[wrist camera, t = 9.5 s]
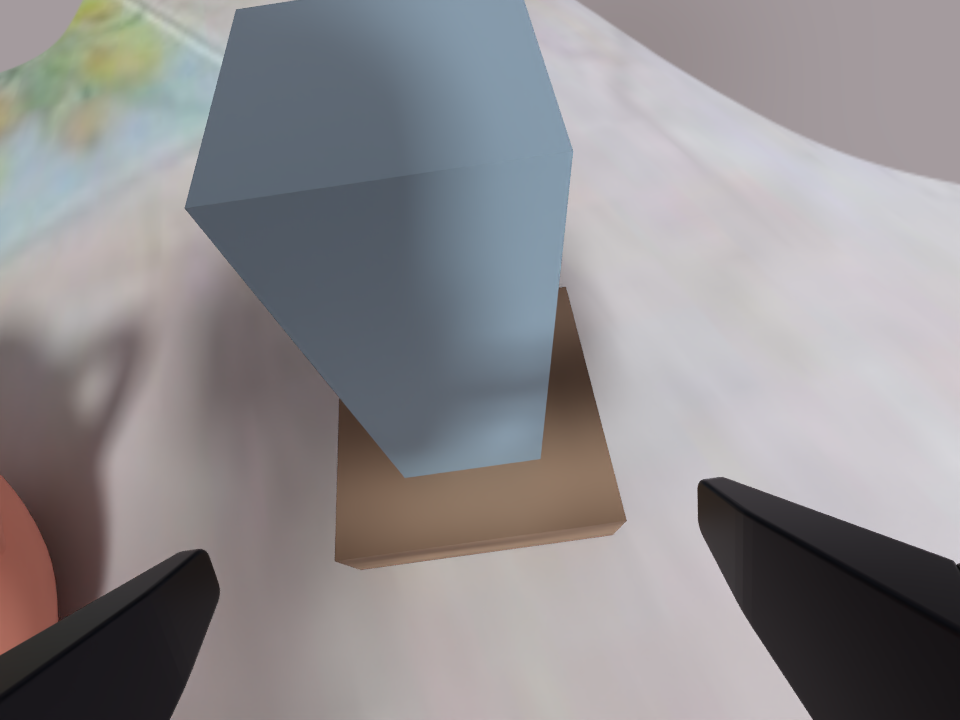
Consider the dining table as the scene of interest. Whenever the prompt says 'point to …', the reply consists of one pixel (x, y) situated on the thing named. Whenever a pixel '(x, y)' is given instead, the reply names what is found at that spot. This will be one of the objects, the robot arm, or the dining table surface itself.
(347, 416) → the walnut base
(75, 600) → the dining table surface
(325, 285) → the blue block
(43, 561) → the teapot
